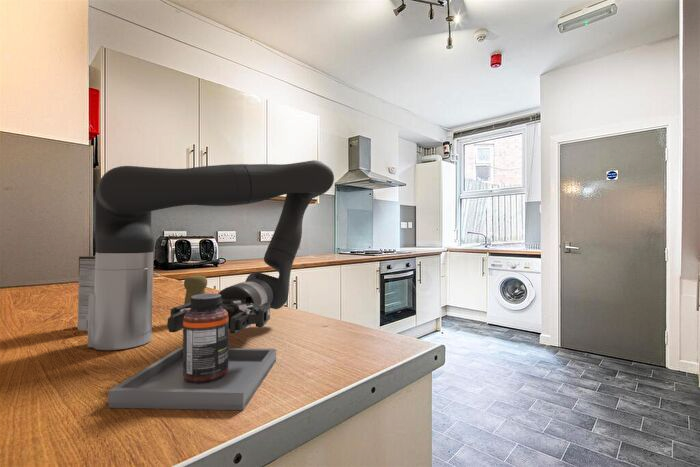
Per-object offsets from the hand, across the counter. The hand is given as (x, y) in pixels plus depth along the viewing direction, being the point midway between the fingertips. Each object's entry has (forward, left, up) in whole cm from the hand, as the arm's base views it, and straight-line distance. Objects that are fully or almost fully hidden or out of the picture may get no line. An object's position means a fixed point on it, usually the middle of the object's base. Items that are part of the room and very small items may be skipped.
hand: (201, 325), depth 46 cm
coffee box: (-35, +30, -8) cm, 46 cm away
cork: (-18, +36, -8) cm, 41 cm away
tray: (0, +2, -8) cm, 8 cm away
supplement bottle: (0, +2, -8) cm, 8 cm away
